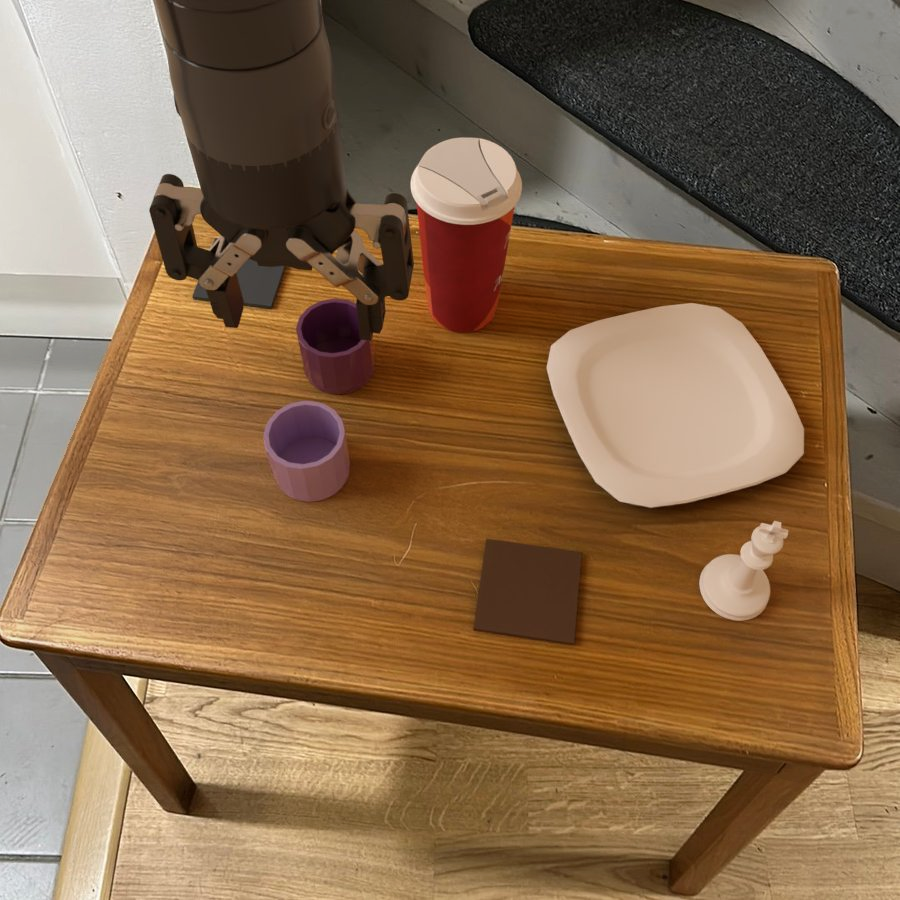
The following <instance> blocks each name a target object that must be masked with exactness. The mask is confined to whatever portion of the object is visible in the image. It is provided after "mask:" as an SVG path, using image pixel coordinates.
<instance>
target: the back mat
mask: <svg viewBox="0 0 900 900" xmlns="http://www.w3.org/2000/svg"><path fill="white" fill-rule="evenodd" d="M218 238H219V237H214V239H213V242H212V245H213V244H214V243H215V241H216V240H217V239H218ZM286 267H287V266H276V267H266V266H258V263H257V262H256V261H253V260H251V259H248V260H247V261H246V262H245V263H244V264H243V265H242V267H241V268H240V269H239V270H238V271H237V272H236V274H237V278H238V281H239V285H240V289H241V293H242V296H243V300H244V307H253V308H261V309H269V310H273V308H274V304H275V301H276V298H277V295H278V292H279V289H280V286H281V283H282V280H283V277H284V274H285V271H286ZM191 296H192V299H193V300H196V301H197V300H198V301H204V302H210V301H209V298H208V295H207V292H206V289H205V288H203V287H202V286H201V285H200V284H199V281H198V280H197V283H196V285H195V288H194V291H193V292H192V295H191Z"/></svg>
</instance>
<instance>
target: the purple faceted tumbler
mask: <svg viewBox="0 0 900 900" xmlns="http://www.w3.org/2000/svg"><path fill="white" fill-rule="evenodd" d="M295 331H296V337H297V341H298V346H299V351H300V355H301V356H300V357H301V362H302V365H303V371H304V374H305V377H306V380H307V381H308V382H309V383H310V384H311V385H312V386H313V387H314V388H315V389H317V390H318V391H321V392H323V393H326V394H330V395H344V394H345V395H346V394H350V393H353V392H356V391H358V390H359V389H361V388H362V387H364V386H365V385H366V384H368V382H369V381H370V379H372V377H373V375H374V372H375V368H376V355H375V345H374V343H375V342H374V336H373V337H372V340H371V341H370V340H360V335H359V326H358V317H357V308H356V302H354V301H352V300H350V299H343V298H337V297H336V298H329V299H323V300H322V299H321V300H319V301H317V302H316V303H314V304H311V305H310V306H308V307H307V308H306V309H305V310H304V311H303V312H302V314H300V315H299V316H298V319H297V323H296V327H295Z"/></svg>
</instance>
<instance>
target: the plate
mask: <svg viewBox="0 0 900 900" xmlns="http://www.w3.org/2000/svg"><path fill="white" fill-rule="evenodd" d="M549 348H550V349H549V354H548V357H547V364H546V374H547V377H548V382H549V385H550V388H551V389H550V390H551V393H552V396H553V399H554V401H555V403H556V404H555V405H556V406H557V408H558V411H559V414H560V416H561V418H562V421H563V423H564V426H565V428H566V430H567V432H568V435H569V438H570V439H571V442H572V444H573V447H574V448H575V451H576V453H577V455H578V457H579V458H580V460H581V462H582V463H583V465H584V467H585V469H586V470H587V472H588V474H589V475H590V477H591V479H592V480H593V482H594V483H595V484H596V485H597V486H598V487H599V488H601V490H603V491H604V492H605V493H606V494H608V495H609V496H610V497H611V498H613V499H614V500H615V501H616V502H618V503H620V504H625V505H630V506H635V507H641V508H644V509H645V508H646V509H649V510H651V509H659V508H665V507H666V508H667V507H672V506H681V505H687V504H690V503H691V504H692V503H695V502H699V501H704V500H707V499H712V498H716V497H719V496H723V495H727V494H731V493H734V492H738V491H741V490H745V489H749V488H753V487H755V486H756V487H757V486H758V485H761V484H763V483H766V482H769V481H770V480H773V479H776V478H778V477H781V476H783V475H786V473H787V472H788V471H790V469H791V468H792V467H793V466H794V465H795V464H796V463H797V462H798V461H799V460H800V459H801V458H802V457H803V456H804V454H805V427H804V425H803V423H802V421H801V418H800V416H799V414H798V411H797V409H796V407H795V404H794V402H793V400H792V398H791V396H790V394H789V392H788V391H787V389H786V387H785V386H784V384H783V382H782V381H781V379H780V376H779V375H778V373H777V371H776V370H775V368H774V366H773V365H772V363H771V362H770V360H769V358H768V357H767V354H765V352H764V350H763V349H762V346H761V345H760V344H759V343H758V342H757V340H756V339H755V338H754V336H753V335H752V333H750V331H749V330H748V329H747V327H746V326H745V324H744V323H743V322H742V321H740V320H738V319H737V318H735V316H733V315H731V314H730V313H728V312H727V311H725V310H724V309H722V308H721V307H720V306H719V307H718V306H712V305H706V304H700V303H694V302H688V303H679V304H670V305H662V306H661V305H660V306H656V307H652V308H646V309H642V310H638V311H633V312H632V311H631V312H628V313H624V314H620V315H619V314H618V315H616V316H611V317H606V318H602V319H598V320H596V321H592V322H589V323H587V324H584V325H581V326H577V327H575V328H572V329H569V330H568V331H567V332H566V333H565V334H564V335H562V336H561V337H560V338H559V339H557V340H556V341H554V342H553V343H552V344H551V345H550V347H549Z"/></svg>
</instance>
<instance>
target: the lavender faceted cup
mask: <svg viewBox="0 0 900 900" xmlns="http://www.w3.org/2000/svg"><path fill="white" fill-rule="evenodd" d="M344 425H345V424H344V420H343V419H342V418H341V416H340V415H339V414H338V412H337V411H336V410H335V409H334V408H333V407H330V406H329V405H326V404H325V403H323V402H320V401H314V400H307V399H306V400H301V401H295V402H291V403H288V404H286V405H285V406H283V407H281V408H279V409H277V410H276V411H275V412H274V413H273V415H272V416H271V417H270V418H269V419H268V420H267V422H266V424H265V428H264V431H263V436H262V437H263V443H264V449H265V453H266V455H267V459H268V462H269V465H270V469H271V472H272V476H273V478H274V481H275V483H276V485H277V487H278V489H280V490H281V492H282V493H283V494H285V496H288V497H289V498H291V499H293V500H296V501H300V502H306V503H310V502H311V503H314V502H319V501H323V500H327V499H329V498H330V497H333V496H334V495H336V493H338V492H339V491H340V490H341V489H342V488H343V486H344V485H345V484H346V483H347V480H348V479H349V475H350V470H351V461H350V454H349V448H348V442H347V435H346V430H345V426H344Z"/></svg>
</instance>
